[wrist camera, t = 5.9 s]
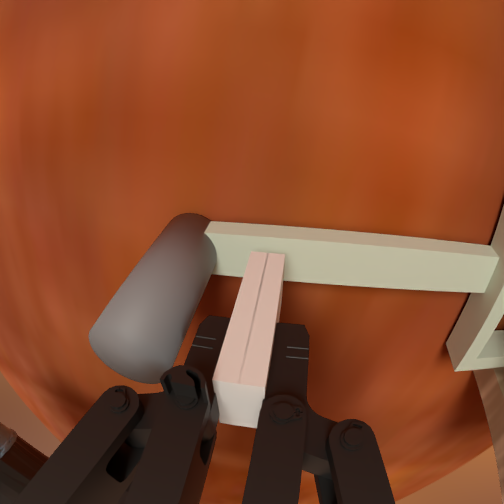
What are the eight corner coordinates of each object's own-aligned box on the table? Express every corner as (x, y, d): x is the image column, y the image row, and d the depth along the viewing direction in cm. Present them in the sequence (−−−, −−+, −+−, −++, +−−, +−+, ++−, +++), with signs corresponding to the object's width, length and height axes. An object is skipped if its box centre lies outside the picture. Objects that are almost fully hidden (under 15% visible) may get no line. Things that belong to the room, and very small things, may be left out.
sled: (182, 325, 20) (139, 427, 14) (150, 115, 13) (27, 172, 7) (553, 336, 16) (584, 407, 10) (616, 195, 9) (679, 256, 2)
